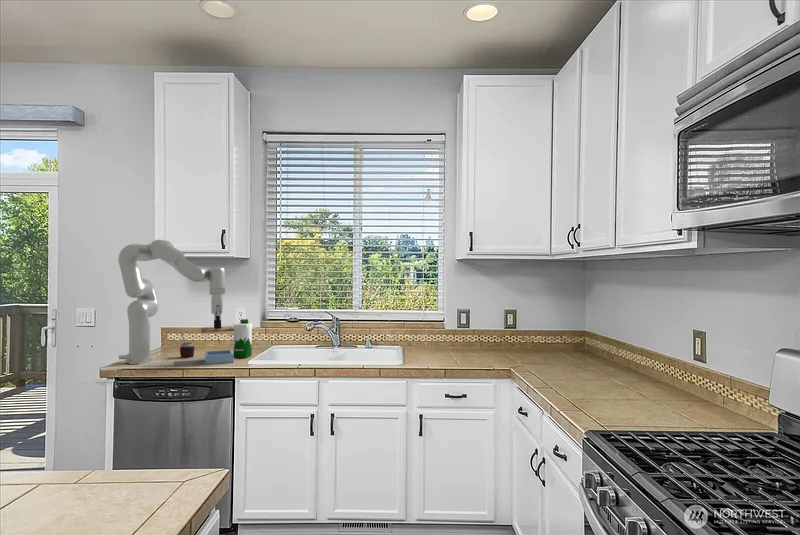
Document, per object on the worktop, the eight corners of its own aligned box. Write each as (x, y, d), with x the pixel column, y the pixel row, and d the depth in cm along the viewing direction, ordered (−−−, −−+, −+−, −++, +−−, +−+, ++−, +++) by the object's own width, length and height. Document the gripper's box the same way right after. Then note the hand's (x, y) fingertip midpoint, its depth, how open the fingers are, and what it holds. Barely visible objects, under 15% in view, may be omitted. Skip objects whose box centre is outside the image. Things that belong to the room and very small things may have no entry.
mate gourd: (195, 358, 271) (195, 330, 271) (179, 360, 267) (179, 331, 267) (192, 356, 278) (192, 329, 278) (177, 358, 273) (177, 329, 273)
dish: (206, 365, 252) (206, 355, 252) (204, 361, 264) (204, 351, 264) (233, 363, 258) (233, 353, 258) (231, 359, 270) (231, 349, 270)
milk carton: (253, 355, 281) (253, 319, 281) (246, 358, 272) (246, 321, 272) (238, 355, 282) (238, 319, 282) (231, 358, 273) (231, 320, 273)
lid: (202, 332, 251) (202, 320, 251) (201, 329, 265) (201, 318, 265) (234, 330, 257) (234, 319, 257) (231, 327, 270) (231, 316, 270)
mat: (173, 367, 247) (173, 366, 247) (173, 362, 260) (173, 361, 260) (204, 365, 253) (204, 364, 253) (203, 360, 265) (203, 359, 265)
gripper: (208, 291, 267) (208, 326, 267) (210, 292, 252) (210, 330, 252) (223, 290, 270) (224, 325, 270) (226, 292, 255) (226, 329, 255)
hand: (217, 327), depth 261 cm, fingers closed on lid, 2 cm apart
